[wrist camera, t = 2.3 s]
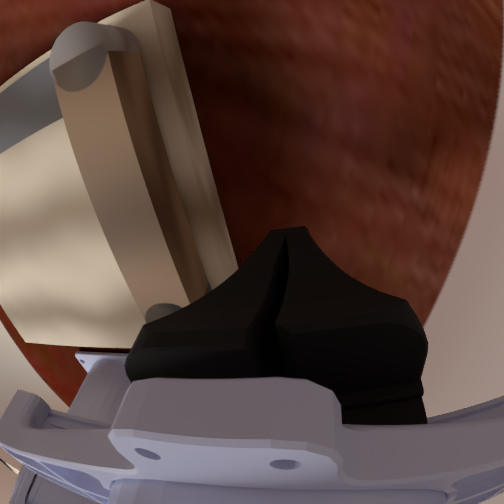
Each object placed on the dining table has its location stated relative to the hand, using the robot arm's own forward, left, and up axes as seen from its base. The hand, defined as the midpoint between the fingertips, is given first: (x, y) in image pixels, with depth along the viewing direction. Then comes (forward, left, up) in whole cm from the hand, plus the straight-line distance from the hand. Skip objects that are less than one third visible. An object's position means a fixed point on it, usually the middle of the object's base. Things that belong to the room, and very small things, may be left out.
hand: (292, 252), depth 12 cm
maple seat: (+2, +14, -5) cm, 15 cm away
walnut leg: (+3, +6, -2) cm, 7 cm away
